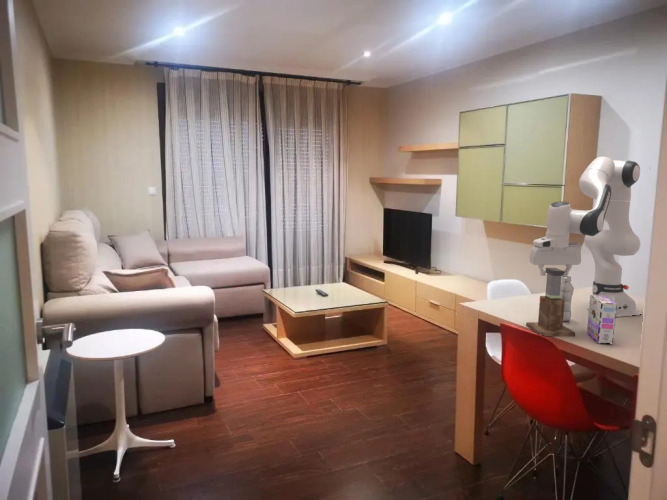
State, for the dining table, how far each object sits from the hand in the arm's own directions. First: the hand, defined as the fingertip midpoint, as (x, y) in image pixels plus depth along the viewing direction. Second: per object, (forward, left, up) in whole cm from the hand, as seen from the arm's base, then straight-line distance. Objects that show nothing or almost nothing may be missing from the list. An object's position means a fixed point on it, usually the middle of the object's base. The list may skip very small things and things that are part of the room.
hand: (554, 275), depth 207 cm
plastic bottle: (-13, -14, -24) cm, 31 cm away
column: (0, 0, -15) cm, 15 cm away
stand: (0, 0, -24) cm, 24 cm away
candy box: (-15, +11, -24) cm, 30 cm away
